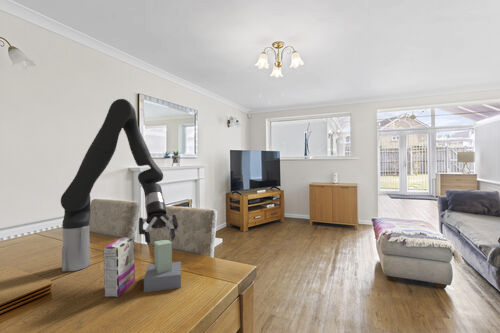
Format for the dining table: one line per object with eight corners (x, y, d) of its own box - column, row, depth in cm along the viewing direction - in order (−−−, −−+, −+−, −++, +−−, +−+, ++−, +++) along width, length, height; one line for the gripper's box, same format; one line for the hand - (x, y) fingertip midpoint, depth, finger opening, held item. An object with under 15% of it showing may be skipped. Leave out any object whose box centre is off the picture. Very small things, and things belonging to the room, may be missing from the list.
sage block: (157, 273, 86) (157, 245, 86) (154, 268, 90) (154, 241, 90) (171, 270, 89) (171, 242, 89) (168, 265, 93) (168, 239, 93)
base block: (143, 293, 82) (143, 278, 82) (148, 277, 94) (148, 264, 94) (180, 288, 85) (180, 274, 85) (180, 274, 97) (180, 261, 97)
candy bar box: (121, 281, 90) (121, 236, 90) (135, 281, 90) (135, 236, 90) (103, 297, 79) (102, 247, 79) (118, 297, 79) (118, 247, 79)
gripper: (137, 201, 95) (141, 238, 85) (174, 199, 102) (182, 233, 93) (135, 212, 99) (139, 249, 90) (171, 209, 107) (178, 243, 97)
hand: (161, 240), depth 91 cm, fingers open, 8 cm apart
